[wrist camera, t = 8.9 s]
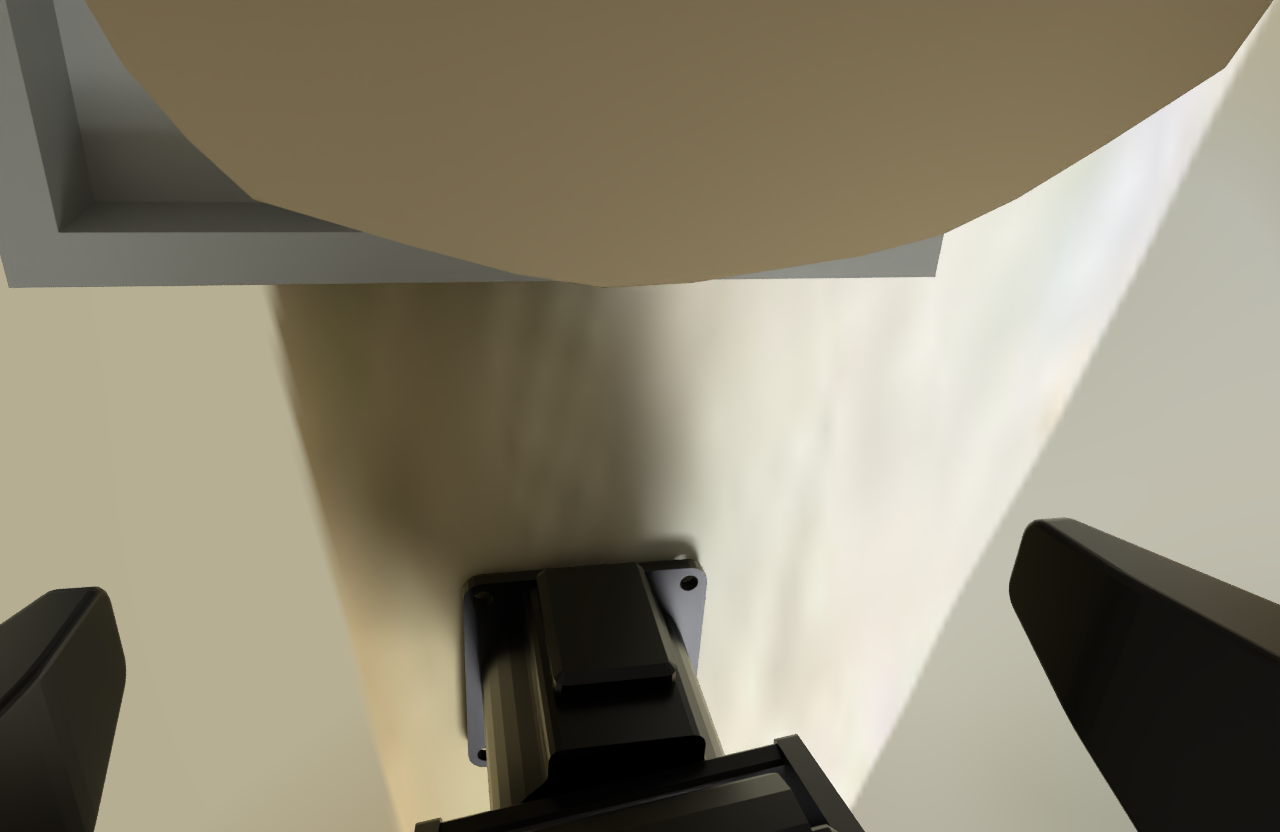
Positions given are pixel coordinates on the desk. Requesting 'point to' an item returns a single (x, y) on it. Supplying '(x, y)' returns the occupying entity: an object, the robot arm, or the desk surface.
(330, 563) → the desk surface
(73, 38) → the walled box
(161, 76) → the handle
